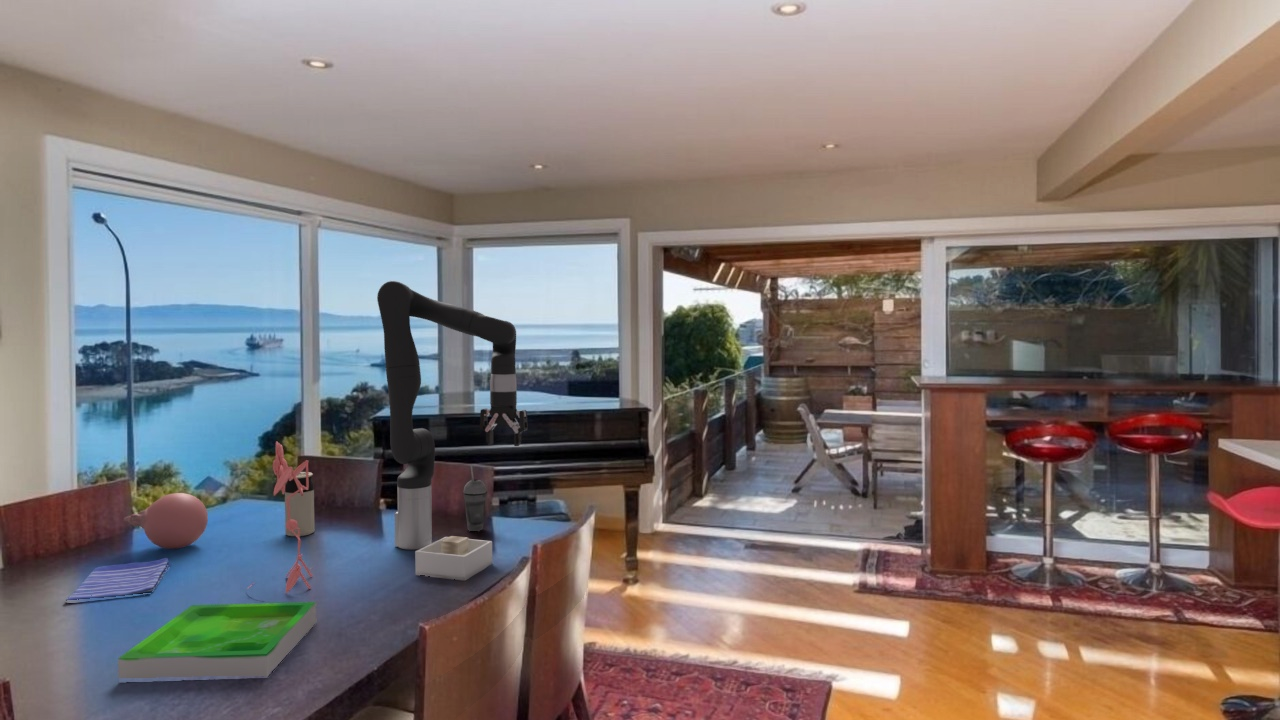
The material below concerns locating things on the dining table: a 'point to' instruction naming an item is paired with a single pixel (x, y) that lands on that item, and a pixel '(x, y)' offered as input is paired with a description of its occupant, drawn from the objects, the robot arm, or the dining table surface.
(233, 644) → the tray
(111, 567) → the dish towel
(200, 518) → the pink water balloon
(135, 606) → the dining table surface
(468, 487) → the beverage cup
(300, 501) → the travel mug
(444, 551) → the ash block
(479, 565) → the grey bin
